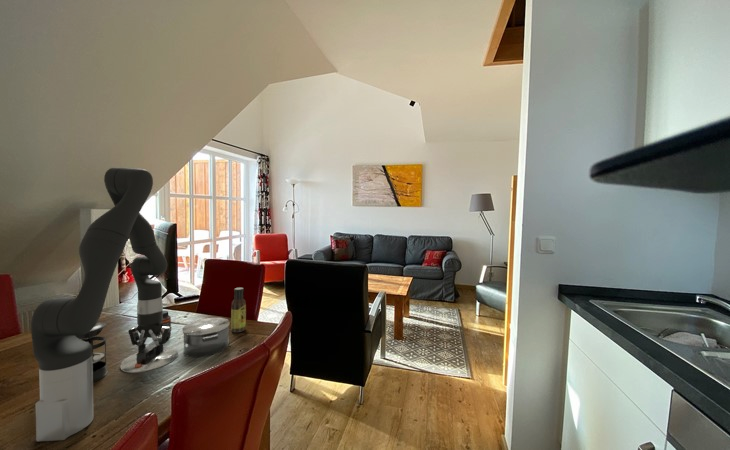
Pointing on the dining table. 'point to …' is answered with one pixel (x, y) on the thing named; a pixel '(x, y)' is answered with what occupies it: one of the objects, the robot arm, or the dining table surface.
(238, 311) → the sauce bottle
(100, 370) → the french press
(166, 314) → the supplement bottle
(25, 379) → the dining table surface
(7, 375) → the dining table surface
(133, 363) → the cooker lid
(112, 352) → the dining table surface
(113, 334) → the dining table surface
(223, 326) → the cooker pot
